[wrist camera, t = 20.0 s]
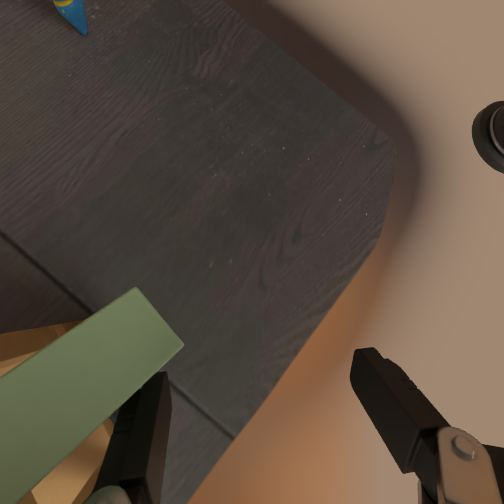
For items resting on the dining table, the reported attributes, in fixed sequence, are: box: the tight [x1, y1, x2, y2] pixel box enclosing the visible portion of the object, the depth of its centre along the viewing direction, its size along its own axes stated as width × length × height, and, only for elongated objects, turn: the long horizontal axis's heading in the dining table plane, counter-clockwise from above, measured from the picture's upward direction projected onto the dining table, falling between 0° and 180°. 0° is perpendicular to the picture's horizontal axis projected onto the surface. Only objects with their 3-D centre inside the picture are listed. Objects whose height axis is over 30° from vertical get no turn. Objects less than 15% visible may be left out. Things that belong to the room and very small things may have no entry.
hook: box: [0, 287, 184, 504], centre depth 12 cm, size 14×5×19 cm, turn 132°
